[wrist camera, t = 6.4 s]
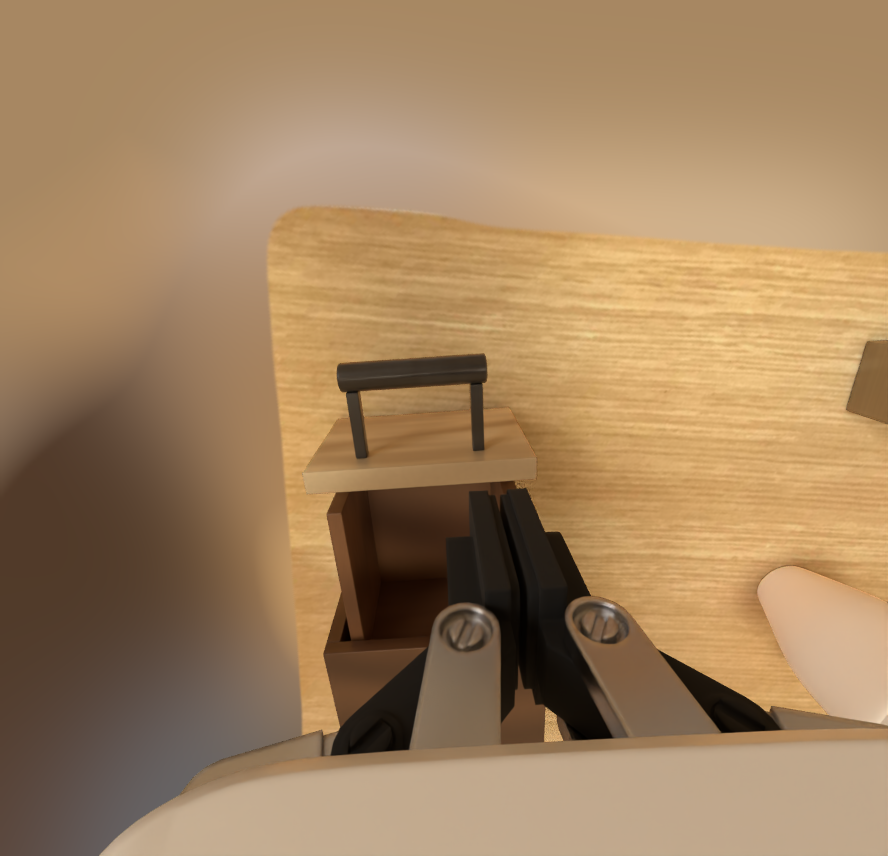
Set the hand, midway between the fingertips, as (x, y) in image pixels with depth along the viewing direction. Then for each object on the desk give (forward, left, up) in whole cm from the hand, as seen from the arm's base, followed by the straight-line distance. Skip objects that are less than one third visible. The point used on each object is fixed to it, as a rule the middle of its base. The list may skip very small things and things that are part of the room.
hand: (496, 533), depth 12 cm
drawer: (+3, -6, -16) cm, 17 cm away
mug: (+33, +6, -17) cm, 37 cm away
